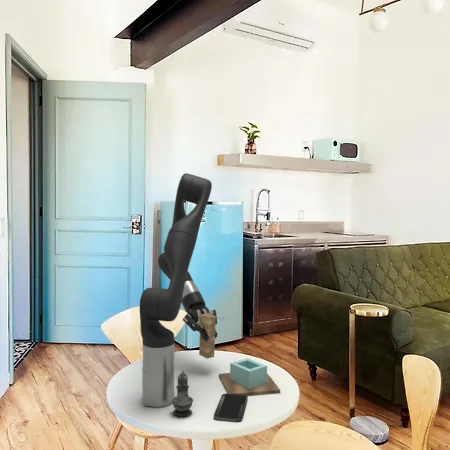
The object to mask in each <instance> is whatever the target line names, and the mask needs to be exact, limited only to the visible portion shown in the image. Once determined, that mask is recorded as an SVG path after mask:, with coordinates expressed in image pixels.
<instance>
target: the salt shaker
mask: <svg viewBox="0 0 450 450" xmlns="http://www.w3.org/2000/svg"><path fill="white" fill-rule="evenodd" d="M188 383H189V376H188V374H187V373H185V371H184V370H182V371H181V373H180V374H178V376H177V385H176V387H175V388H176V391H177V393H176V397H175V396H174V398H173V400H172V403H171V404H172V405H173V408H174V410H173V412H172V414H173V416H175V417H176V418H181V419H182V418H184V419H185V418H188V417H191V416H192V414H193V412H192V410H191V407H192V405H193V403H194V399H193V397H191V396H189V388H190V386H189V384H188Z"/></svg>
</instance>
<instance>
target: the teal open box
mask: <svg viewBox="0 0 450 450" xmlns="http://www.w3.org/2000/svg"><path fill="white" fill-rule="evenodd" d="M229 367H230V368H229V371H230V372H229V373H230V380H231V381H233V382H235V383H238V384H240V385H242V386H244V387H246V388H248V389H251V388H254V387H257V386H260V385H262V384H265V383H267V374H268V366H267V365H266V364H263V363H260V362H259V361H256V360H254V359H251V358H248V357H246V358H244V359H240V360H237V361H233V362H230V365H229Z"/></svg>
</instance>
